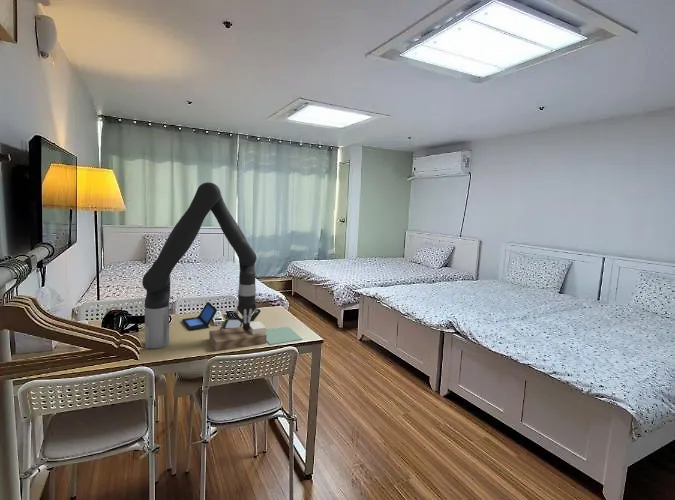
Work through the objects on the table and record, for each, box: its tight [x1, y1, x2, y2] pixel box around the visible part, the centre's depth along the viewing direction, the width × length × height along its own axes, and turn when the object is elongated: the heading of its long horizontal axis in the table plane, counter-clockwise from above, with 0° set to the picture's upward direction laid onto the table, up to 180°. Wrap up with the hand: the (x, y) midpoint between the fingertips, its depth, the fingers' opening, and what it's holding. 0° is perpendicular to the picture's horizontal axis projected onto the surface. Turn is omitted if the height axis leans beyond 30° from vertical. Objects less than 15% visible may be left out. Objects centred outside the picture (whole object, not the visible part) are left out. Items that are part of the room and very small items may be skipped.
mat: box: [265, 326, 304, 346], centre depth 175 cm, size 16×18×1 cm
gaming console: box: [221, 317, 243, 329], centre depth 183 cm, size 19×9×2 cm, turn 9°
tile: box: [248, 321, 267, 335], centre depth 169 cm, size 6×9×3 cm, turn 30°
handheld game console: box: [181, 301, 218, 331], centre depth 184 cm, size 16×13×9 cm
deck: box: [208, 326, 267, 352], centre depth 165 cm, size 22×14×4 cm, turn 120°
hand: (246, 330), depth 167 cm, fingers closed
